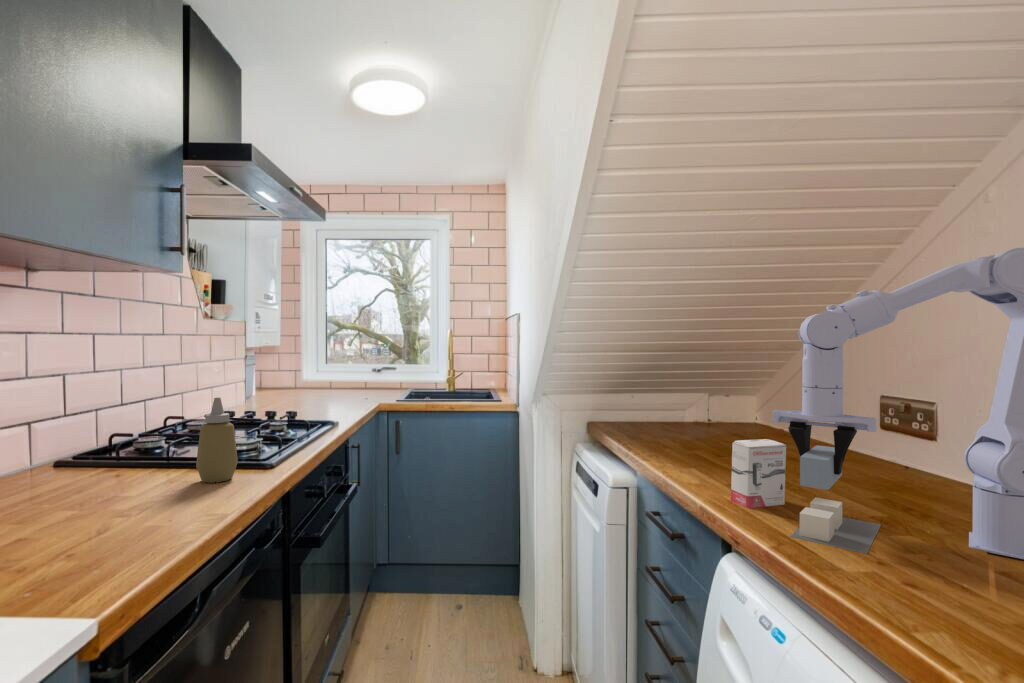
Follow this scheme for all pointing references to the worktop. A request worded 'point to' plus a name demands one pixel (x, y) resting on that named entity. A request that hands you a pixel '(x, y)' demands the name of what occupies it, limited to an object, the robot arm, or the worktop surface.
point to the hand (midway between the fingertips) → (821, 471)
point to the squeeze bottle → (216, 446)
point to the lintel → (818, 468)
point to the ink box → (758, 473)
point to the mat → (849, 535)
